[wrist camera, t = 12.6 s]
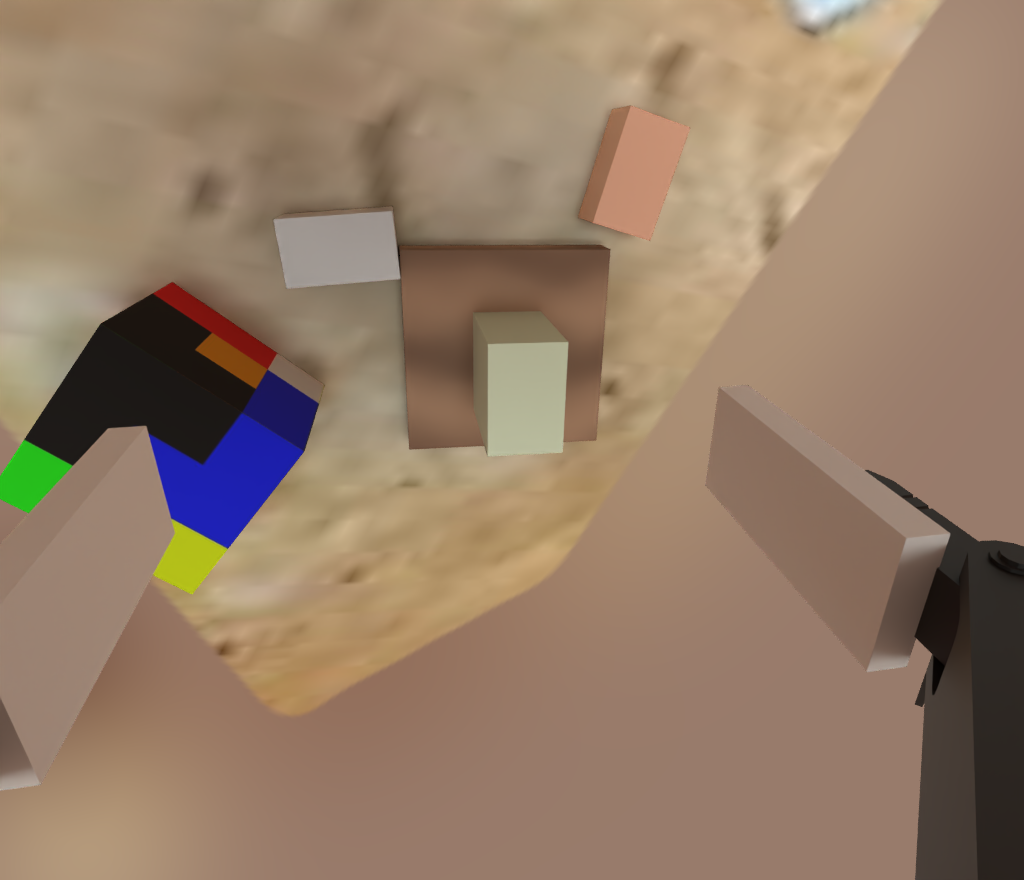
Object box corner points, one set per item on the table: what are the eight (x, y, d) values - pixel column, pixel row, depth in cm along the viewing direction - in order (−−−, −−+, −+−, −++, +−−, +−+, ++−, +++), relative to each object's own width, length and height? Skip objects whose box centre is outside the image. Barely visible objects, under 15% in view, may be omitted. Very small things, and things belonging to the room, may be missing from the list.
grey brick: (295, 277, 38) (286, 288, 35) (284, 213, 37) (273, 219, 34) (400, 268, 39) (400, 279, 36) (392, 205, 38) (392, 211, 34)
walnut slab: (399, 245, 38) (399, 250, 36) (600, 245, 40) (610, 249, 38) (408, 436, 43) (409, 449, 41) (588, 428, 45) (596, 440, 43)
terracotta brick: (611, 109, 37) (630, 105, 34) (666, 129, 38) (690, 127, 35) (577, 217, 39) (592, 222, 36) (630, 234, 40) (650, 240, 37)
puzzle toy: (324, 384, 41) (304, 451, 32) (235, 501, 43) (192, 594, 34) (172, 282, 37) (100, 323, 28) (82, 414, 39) (-12, 493, 30)
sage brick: (473, 312, 38) (487, 344, 32) (540, 311, 39) (568, 341, 33) (473, 409, 41) (487, 456, 34) (537, 406, 41) (562, 452, 35)
